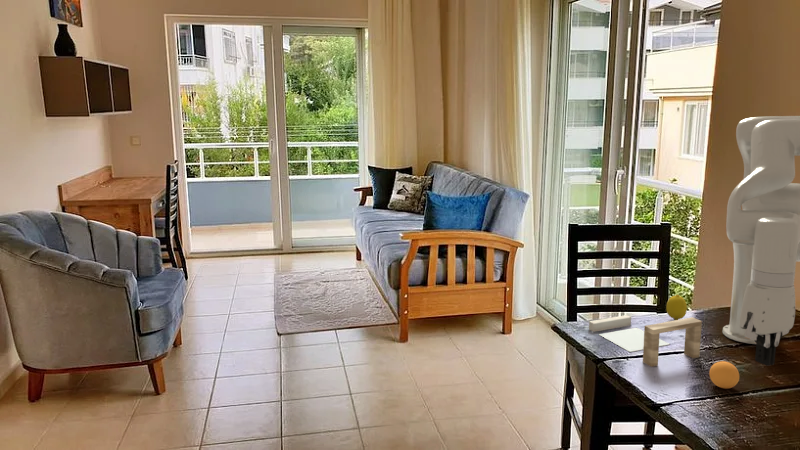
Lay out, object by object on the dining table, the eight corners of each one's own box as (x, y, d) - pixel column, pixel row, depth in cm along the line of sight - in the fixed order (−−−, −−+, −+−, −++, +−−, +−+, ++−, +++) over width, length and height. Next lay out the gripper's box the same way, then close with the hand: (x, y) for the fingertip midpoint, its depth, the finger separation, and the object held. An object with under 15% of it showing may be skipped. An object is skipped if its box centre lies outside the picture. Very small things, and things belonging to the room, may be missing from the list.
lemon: (688, 324, 172) (690, 298, 171) (668, 323, 173) (669, 297, 172) (683, 317, 178) (685, 292, 176) (663, 316, 179) (665, 291, 177)
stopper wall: (626, 323, 175) (626, 315, 174) (630, 325, 173) (631, 317, 172) (588, 329, 171) (589, 321, 170) (593, 331, 169) (593, 323, 169)
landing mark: (636, 328, 171) (636, 327, 171) (670, 344, 159) (670, 344, 158) (598, 335, 167) (598, 334, 167) (629, 352, 155) (629, 351, 155)
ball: (722, 379, 138) (724, 355, 137) (744, 390, 133) (746, 365, 132) (702, 383, 137) (704, 359, 135) (723, 395, 131) (725, 370, 130)
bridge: (642, 362, 149) (644, 325, 147) (690, 352, 153) (692, 317, 151) (651, 366, 146) (653, 329, 144) (699, 357, 150) (701, 321, 149)
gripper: (782, 270, 126) (775, 351, 129) (728, 277, 121) (721, 361, 124) (817, 278, 119) (808, 364, 122) (760, 287, 114) (752, 375, 117)
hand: (764, 362), depth 123 cm, fingers closed
